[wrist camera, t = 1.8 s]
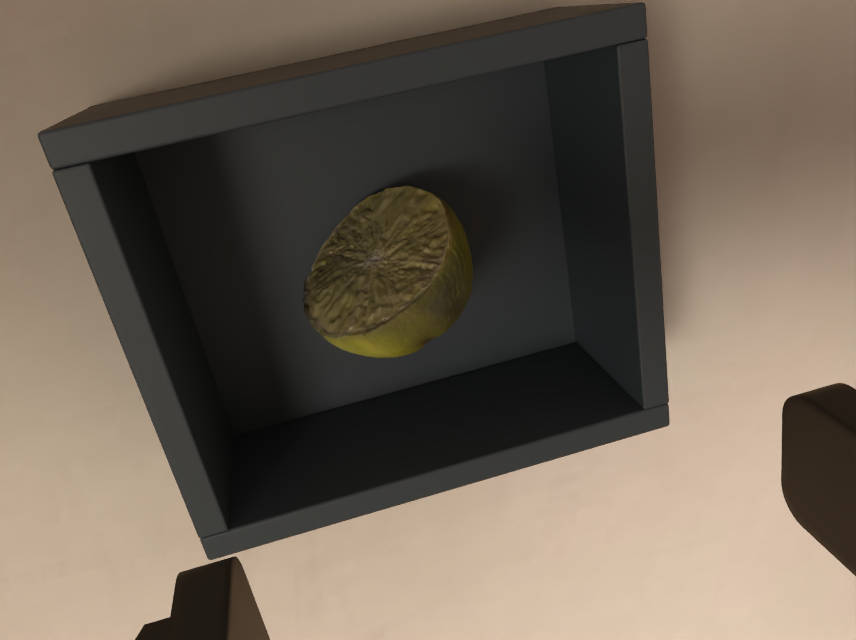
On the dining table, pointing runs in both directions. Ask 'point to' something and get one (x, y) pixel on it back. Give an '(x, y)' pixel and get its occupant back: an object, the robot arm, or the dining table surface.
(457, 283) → the lime
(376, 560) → the dining table surface
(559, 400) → the bin
